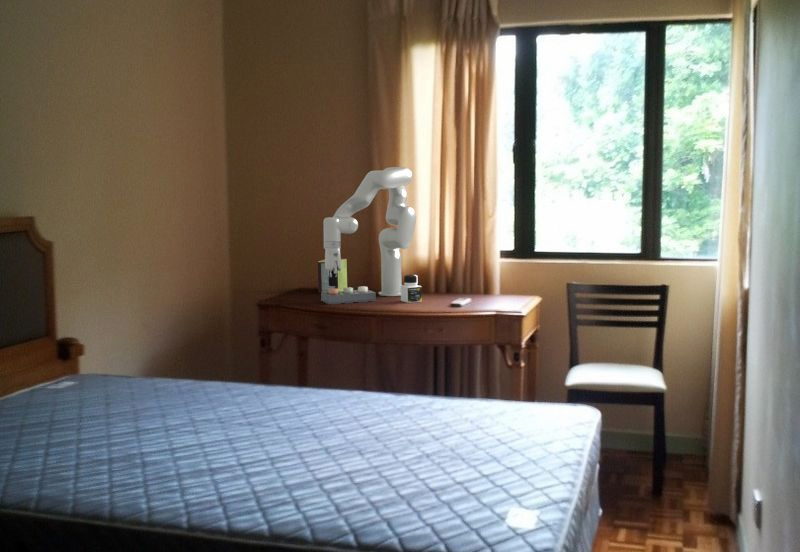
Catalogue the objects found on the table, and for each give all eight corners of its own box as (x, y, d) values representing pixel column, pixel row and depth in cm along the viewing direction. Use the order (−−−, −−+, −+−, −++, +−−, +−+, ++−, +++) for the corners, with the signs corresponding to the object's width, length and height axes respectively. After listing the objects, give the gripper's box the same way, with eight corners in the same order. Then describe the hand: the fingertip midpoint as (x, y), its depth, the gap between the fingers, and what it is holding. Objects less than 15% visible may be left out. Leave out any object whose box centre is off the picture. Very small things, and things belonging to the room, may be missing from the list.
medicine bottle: (408, 303, 385) (407, 276, 383) (400, 301, 391) (400, 274, 390) (422, 301, 388) (421, 275, 387) (414, 299, 394) (414, 273, 393)
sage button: (351, 294, 396) (351, 287, 395) (354, 295, 392) (354, 288, 391) (342, 294, 394) (342, 287, 394) (345, 295, 390) (345, 288, 390)
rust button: (336, 295, 393) (336, 288, 393) (339, 296, 389) (339, 289, 389) (327, 295, 392) (327, 288, 391) (330, 297, 387) (330, 289, 387)
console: (366, 297, 403) (366, 289, 402) (375, 301, 392) (375, 292, 391) (321, 301, 395) (321, 292, 394) (329, 304, 384) (329, 295, 383)
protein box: (347, 289, 434) (346, 258, 432) (338, 293, 419) (337, 261, 417) (327, 289, 437) (326, 258, 435) (317, 293, 422) (316, 261, 420)
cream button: (365, 293, 398) (365, 286, 398) (369, 294, 394) (368, 287, 394) (356, 293, 397) (356, 286, 396) (359, 294, 393) (359, 287, 392)
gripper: (345, 246, 382) (345, 287, 384) (335, 243, 396) (335, 283, 398) (329, 246, 379) (329, 288, 381) (319, 244, 393) (319, 284, 395)
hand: (332, 285), depth 389 cm, fingers closed
